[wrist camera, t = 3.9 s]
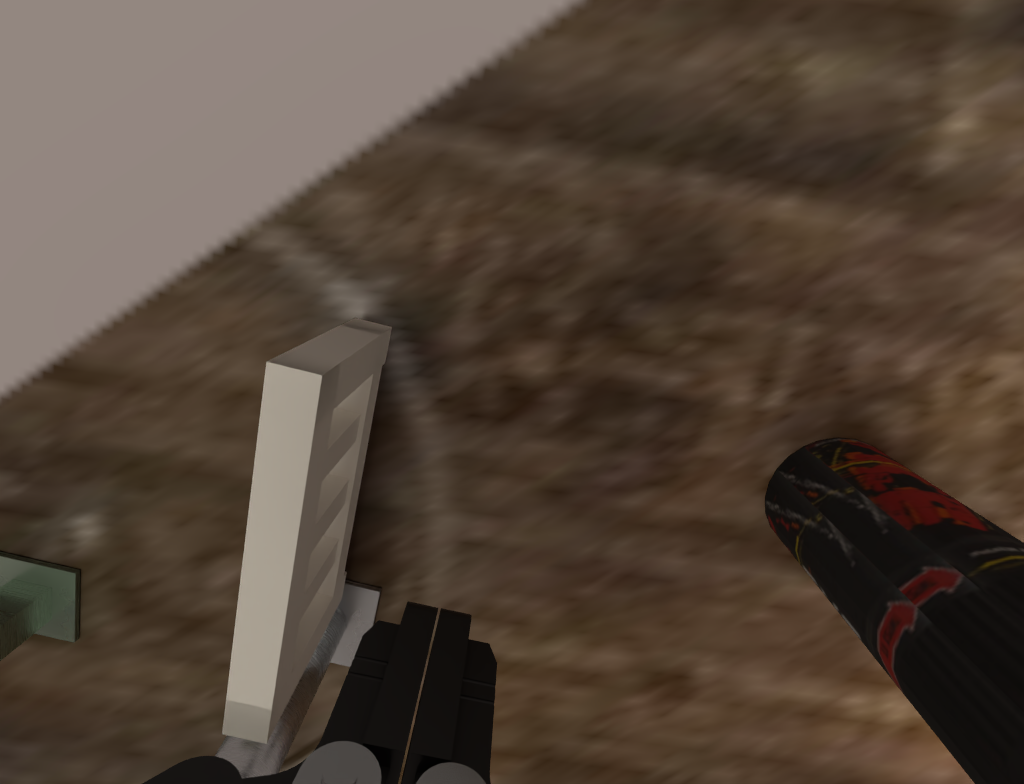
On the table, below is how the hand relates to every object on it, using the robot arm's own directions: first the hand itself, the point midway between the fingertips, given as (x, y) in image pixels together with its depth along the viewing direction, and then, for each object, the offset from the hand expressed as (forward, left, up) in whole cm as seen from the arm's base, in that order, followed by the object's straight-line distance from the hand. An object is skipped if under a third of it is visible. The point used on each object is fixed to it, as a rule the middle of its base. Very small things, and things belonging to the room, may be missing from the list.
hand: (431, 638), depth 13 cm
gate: (+6, +3, -13) cm, 14 cm away
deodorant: (-16, -1, -14) cm, 21 cm away
